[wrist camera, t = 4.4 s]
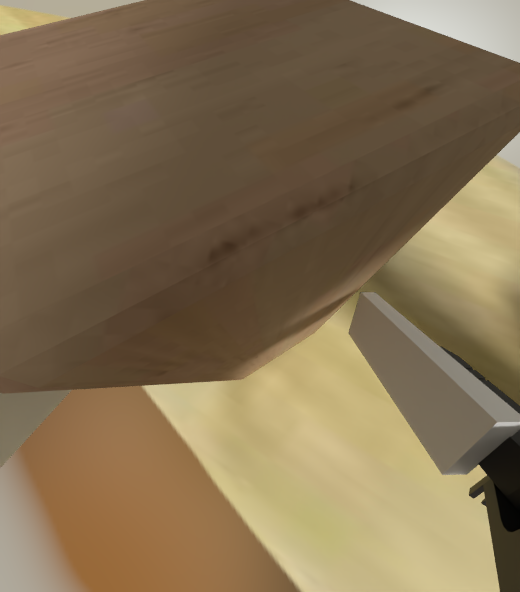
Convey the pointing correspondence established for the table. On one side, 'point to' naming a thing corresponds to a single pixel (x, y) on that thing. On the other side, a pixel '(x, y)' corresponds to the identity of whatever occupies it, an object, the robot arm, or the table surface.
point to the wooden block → (219, 178)
